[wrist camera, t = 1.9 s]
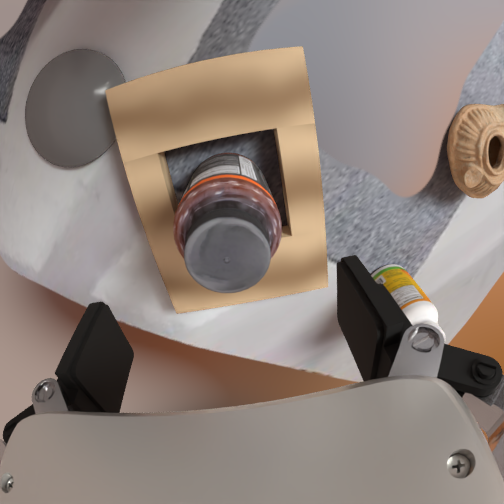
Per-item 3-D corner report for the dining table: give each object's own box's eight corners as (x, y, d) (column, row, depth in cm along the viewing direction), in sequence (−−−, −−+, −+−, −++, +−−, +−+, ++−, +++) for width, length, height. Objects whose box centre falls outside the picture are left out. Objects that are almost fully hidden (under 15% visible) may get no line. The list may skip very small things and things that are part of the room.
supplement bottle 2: (404, 296, 30) (445, 357, 22) (362, 309, 31) (396, 377, 22) (407, 257, 28) (458, 317, 19) (361, 270, 28) (404, 339, 20)
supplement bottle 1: (265, 220, 25) (288, 309, 15) (193, 223, 25) (172, 313, 15) (265, 149, 22) (296, 196, 12) (188, 152, 22) (152, 202, 12)
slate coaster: (20, 80, 16) (17, 80, 16) (116, 31, 16) (113, 30, 15) (44, 179, 21) (41, 181, 21) (140, 145, 21) (138, 146, 20)
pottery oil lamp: (516, 138, 21) (547, 184, 17) (435, 165, 27) (460, 216, 23) (515, 75, 15) (559, 119, 11) (421, 102, 21) (456, 152, 17)
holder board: (114, 90, 18) (105, 90, 17) (296, 50, 18) (302, 46, 16) (179, 300, 28) (176, 313, 27) (322, 274, 28) (328, 286, 26)
